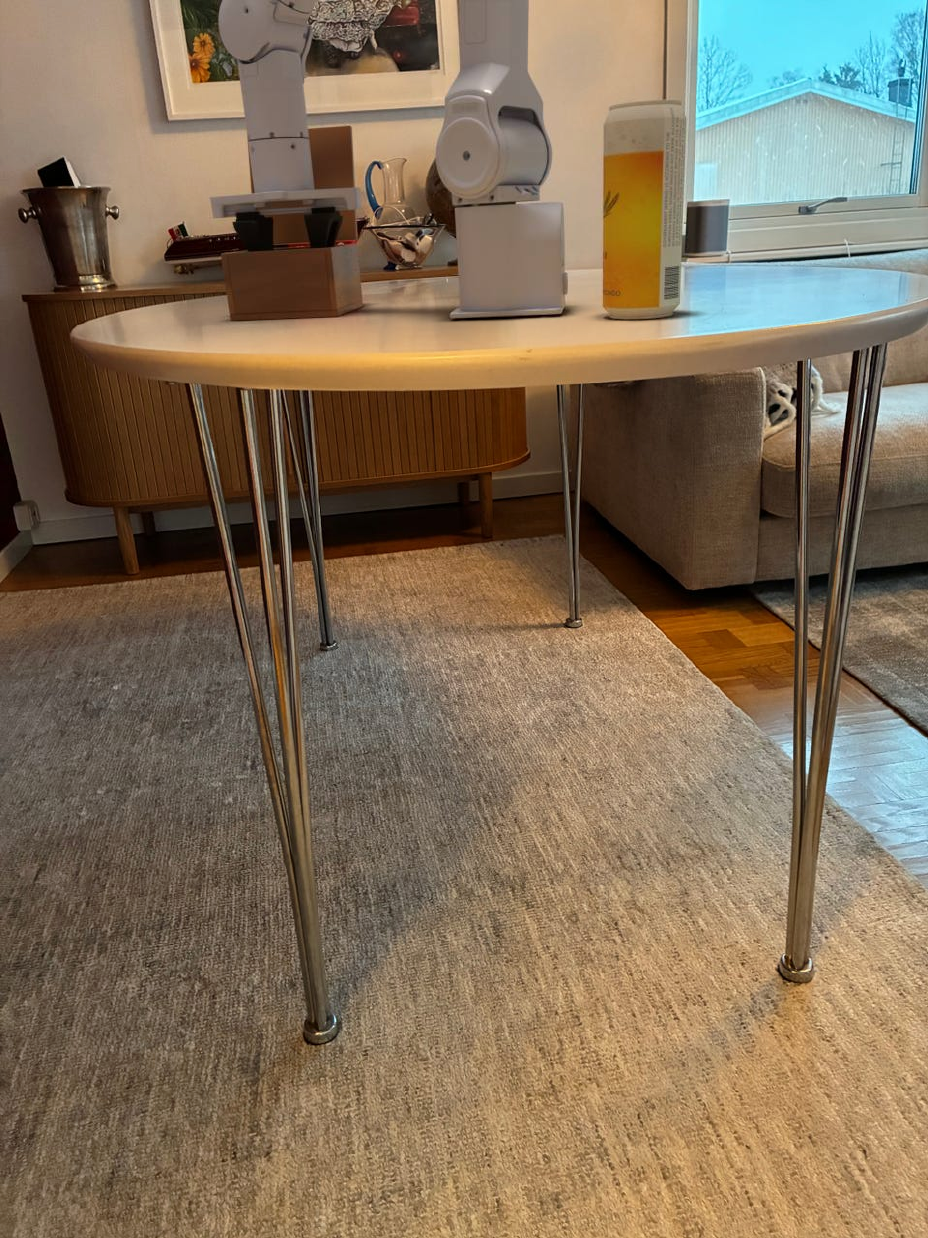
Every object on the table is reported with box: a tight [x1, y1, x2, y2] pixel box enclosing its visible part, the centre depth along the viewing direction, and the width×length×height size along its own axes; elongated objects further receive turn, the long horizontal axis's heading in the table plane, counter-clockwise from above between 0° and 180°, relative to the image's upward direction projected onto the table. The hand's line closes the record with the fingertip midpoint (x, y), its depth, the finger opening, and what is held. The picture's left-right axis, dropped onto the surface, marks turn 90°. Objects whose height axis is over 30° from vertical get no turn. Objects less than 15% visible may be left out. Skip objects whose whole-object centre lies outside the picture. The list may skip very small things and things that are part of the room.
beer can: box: [602, 99, 688, 320], centre depth 72 cm, size 6×6×15 cm
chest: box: [220, 243, 364, 322], centre depth 92 cm, size 10×11×6 cm
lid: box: [246, 125, 359, 246], centre depth 94 cm, size 11×11×1 cm
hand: (297, 293), depth 93 cm, fingers open, 5 cm apart
